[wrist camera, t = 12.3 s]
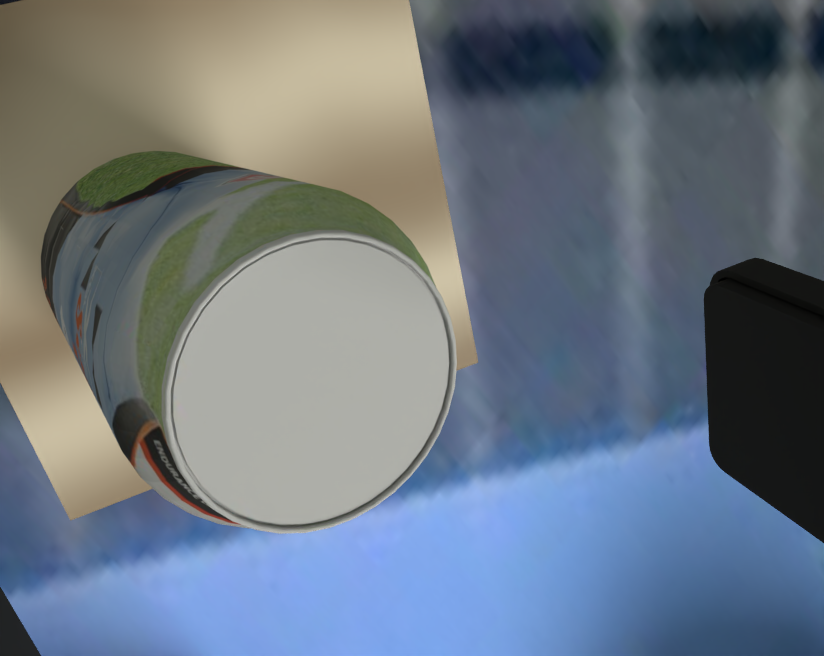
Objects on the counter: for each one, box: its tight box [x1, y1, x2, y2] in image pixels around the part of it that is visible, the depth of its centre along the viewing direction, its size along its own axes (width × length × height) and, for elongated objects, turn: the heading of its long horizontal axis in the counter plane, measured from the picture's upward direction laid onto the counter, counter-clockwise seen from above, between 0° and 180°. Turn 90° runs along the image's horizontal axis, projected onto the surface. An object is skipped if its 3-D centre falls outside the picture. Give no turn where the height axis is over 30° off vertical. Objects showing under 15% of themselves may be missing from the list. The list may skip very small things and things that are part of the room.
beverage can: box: [41, 151, 457, 534], centre depth 17 cm, size 6×7×12 cm
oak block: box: [0, 0, 478, 520], centre depth 24 cm, size 14×14×5 cm
